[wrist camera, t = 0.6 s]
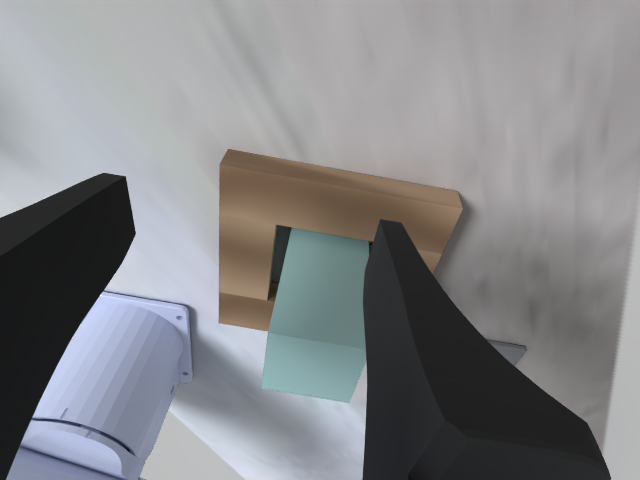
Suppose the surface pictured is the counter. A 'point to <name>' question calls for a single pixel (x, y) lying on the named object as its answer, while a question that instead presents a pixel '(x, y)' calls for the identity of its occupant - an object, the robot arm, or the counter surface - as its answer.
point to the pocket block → (310, 221)
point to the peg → (318, 318)
